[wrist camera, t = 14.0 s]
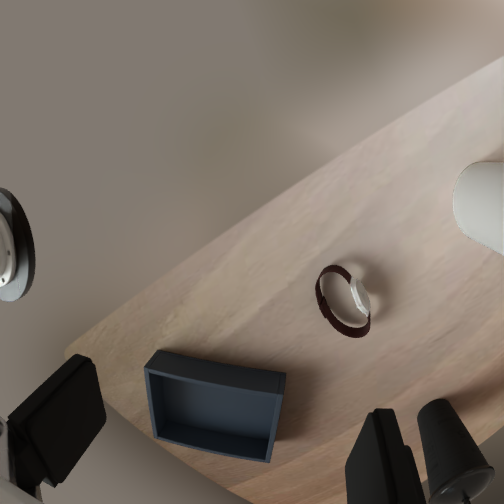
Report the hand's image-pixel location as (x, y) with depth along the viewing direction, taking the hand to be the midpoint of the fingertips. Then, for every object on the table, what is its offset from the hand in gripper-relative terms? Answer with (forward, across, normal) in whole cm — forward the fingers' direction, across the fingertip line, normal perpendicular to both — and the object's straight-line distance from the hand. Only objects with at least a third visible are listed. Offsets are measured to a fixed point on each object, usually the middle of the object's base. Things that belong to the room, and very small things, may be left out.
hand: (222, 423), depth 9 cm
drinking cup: (+22, -24, +18) cm, 37 cm away
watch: (+22, -7, +4) cm, 24 cm away
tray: (+22, +4, +20) cm, 30 cm away
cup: (+22, -22, -7) cm, 32 cm away
